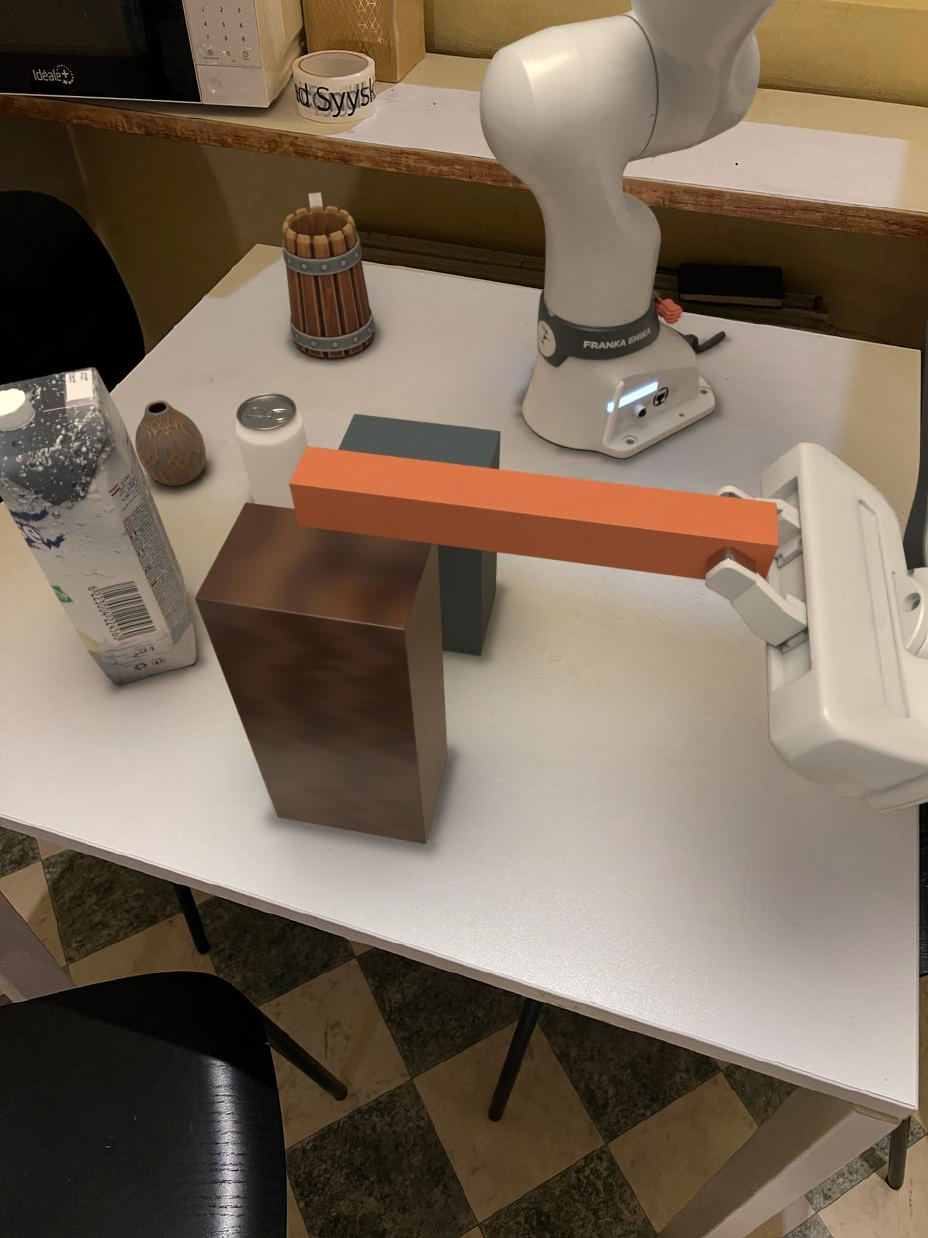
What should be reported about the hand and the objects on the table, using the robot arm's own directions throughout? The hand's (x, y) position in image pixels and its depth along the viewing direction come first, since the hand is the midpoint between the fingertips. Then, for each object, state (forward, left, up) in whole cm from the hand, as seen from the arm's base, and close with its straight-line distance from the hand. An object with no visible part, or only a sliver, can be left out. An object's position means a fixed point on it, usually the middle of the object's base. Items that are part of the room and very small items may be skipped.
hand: (714, 532), depth 42 cm
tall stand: (+17, -12, -32) cm, 38 cm away
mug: (-4, -77, -32) cm, 83 cm away
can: (+12, -47, -32) cm, 58 cm away
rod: (+7, -6, -2) cm, 9 cm away
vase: (+21, -57, -32) cm, 68 cm away
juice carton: (+29, -35, -32) cm, 55 cm away
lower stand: (+5, -27, -32) cm, 42 cm away
